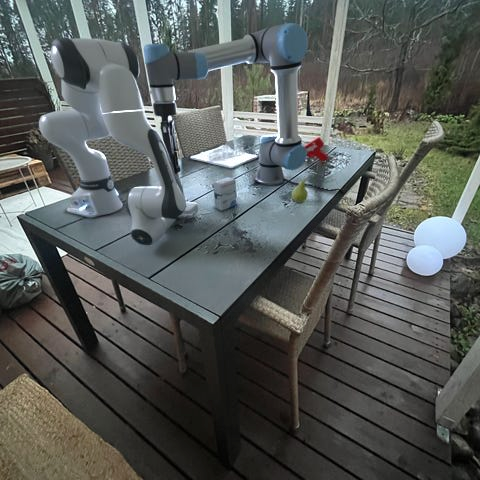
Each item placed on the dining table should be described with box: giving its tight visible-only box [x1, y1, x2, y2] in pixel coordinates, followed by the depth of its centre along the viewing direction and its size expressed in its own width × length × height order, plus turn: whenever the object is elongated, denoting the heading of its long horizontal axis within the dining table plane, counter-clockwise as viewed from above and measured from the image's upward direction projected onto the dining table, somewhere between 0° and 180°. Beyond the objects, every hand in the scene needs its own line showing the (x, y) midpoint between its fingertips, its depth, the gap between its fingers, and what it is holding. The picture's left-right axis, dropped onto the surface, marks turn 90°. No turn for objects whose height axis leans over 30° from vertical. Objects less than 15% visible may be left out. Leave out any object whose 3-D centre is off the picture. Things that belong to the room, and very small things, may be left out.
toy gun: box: [303, 136, 329, 164], centre depth 170 cm, size 18×4×15 cm
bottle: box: [175, 172, 184, 192], centre depth 107 cm, size 5×5×18 cm
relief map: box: [190, 144, 259, 169], centre depth 178 cm, size 27×35×5 cm
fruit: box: [291, 174, 311, 204], centre depth 118 cm, size 7×8×12 cm
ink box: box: [212, 176, 237, 211], centre depth 115 cm, size 8×5×12 cm, turn 135°
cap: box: [176, 165, 182, 173], centre depth 101 cm, size 4×4×2 cm
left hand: (178, 199), depth 109 cm, fingers closed on bottle, 5 cm apart
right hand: (174, 171), depth 102 cm, fingers closed on cap, 4 cm apart
